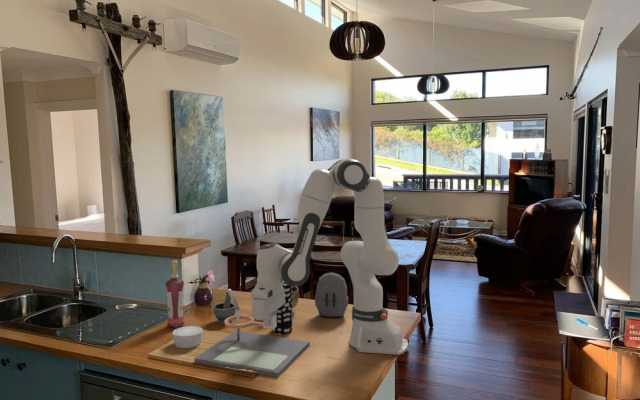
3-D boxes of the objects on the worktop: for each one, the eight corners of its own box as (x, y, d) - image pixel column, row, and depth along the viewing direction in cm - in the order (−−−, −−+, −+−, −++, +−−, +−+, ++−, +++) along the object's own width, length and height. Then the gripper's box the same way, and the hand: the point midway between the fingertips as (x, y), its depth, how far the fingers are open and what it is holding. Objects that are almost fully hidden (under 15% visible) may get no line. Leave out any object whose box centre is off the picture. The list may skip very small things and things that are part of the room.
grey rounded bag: (348, 314, 219) (349, 271, 217) (347, 320, 211) (347, 275, 209) (316, 312, 221) (316, 269, 219) (313, 318, 213) (313, 274, 211)
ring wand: (281, 322, 184) (281, 311, 184) (268, 333, 174) (268, 321, 174) (234, 316, 191) (233, 305, 191) (219, 326, 181) (218, 314, 181)
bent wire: (241, 341, 185) (240, 284, 183) (230, 348, 178) (230, 289, 176) (237, 340, 186) (237, 283, 184) (227, 347, 179) (226, 289, 176)
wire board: (309, 345, 183) (309, 341, 183) (277, 377, 157) (277, 372, 157) (235, 334, 194) (235, 330, 194) (194, 362, 168) (194, 357, 168)
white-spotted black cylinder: (289, 335, 193) (289, 286, 191) (269, 333, 195) (269, 285, 193) (294, 328, 201) (294, 281, 200) (275, 326, 203) (275, 280, 201)
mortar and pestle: (229, 326, 203) (229, 298, 202) (209, 324, 206) (208, 297, 204) (240, 317, 214) (240, 291, 213) (221, 315, 216) (220, 289, 215)
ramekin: (171, 340, 188) (171, 327, 187) (201, 337, 192) (200, 324, 191) (173, 351, 177) (173, 337, 177) (204, 347, 181) (204, 334, 181)
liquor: (185, 328, 201) (183, 262, 198) (166, 330, 199) (164, 263, 196) (184, 322, 208) (183, 258, 205) (166, 324, 206) (165, 259, 203)
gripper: (273, 279, 189) (274, 313, 190) (248, 294, 170) (249, 332, 171) (288, 280, 187) (289, 315, 188) (264, 296, 168) (265, 334, 169)
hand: (270, 323), depth 180 cm, fingers closed on ring wand, 3 cm apart
